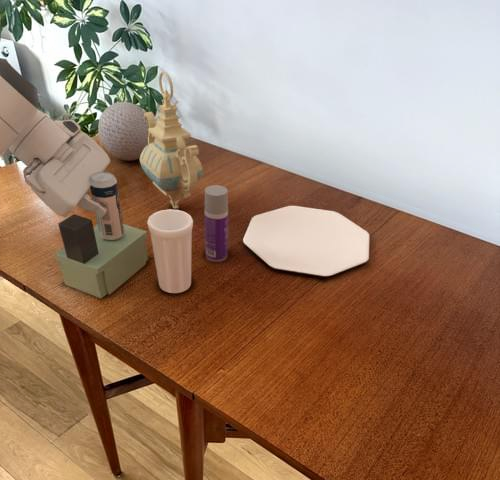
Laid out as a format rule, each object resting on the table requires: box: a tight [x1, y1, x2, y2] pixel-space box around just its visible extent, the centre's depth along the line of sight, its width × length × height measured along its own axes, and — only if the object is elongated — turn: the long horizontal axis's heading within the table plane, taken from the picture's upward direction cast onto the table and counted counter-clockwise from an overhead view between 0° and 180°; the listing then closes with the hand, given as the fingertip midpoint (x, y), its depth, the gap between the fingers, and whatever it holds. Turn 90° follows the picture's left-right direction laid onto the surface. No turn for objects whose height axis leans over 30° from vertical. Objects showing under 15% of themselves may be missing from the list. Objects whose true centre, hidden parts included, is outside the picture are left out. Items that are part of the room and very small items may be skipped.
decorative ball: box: [97, 101, 149, 162], centre depth 129 cm, size 15×15×15 cm
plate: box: [242, 205, 371, 278], centre depth 104 cm, size 28×28×2 cm
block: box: [58, 213, 99, 264], centre depth 83 cm, size 4×4×7 cm
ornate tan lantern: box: [139, 71, 204, 210], centre depth 103 cm, size 24×12×30 cm, turn 33°
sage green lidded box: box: [53, 223, 149, 299], centre depth 91 cm, size 10×15×7 cm, turn 154°
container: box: [204, 184, 229, 263], centre depth 94 cm, size 5×5×15 cm
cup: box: [146, 208, 194, 294], centre depth 86 cm, size 8×8×14 cm
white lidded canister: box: [90, 171, 125, 240], centre depth 86 cm, size 5×5×12 cm
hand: (110, 205), depth 86 cm, fingers closed on white lidded canister, 5 cm apart
